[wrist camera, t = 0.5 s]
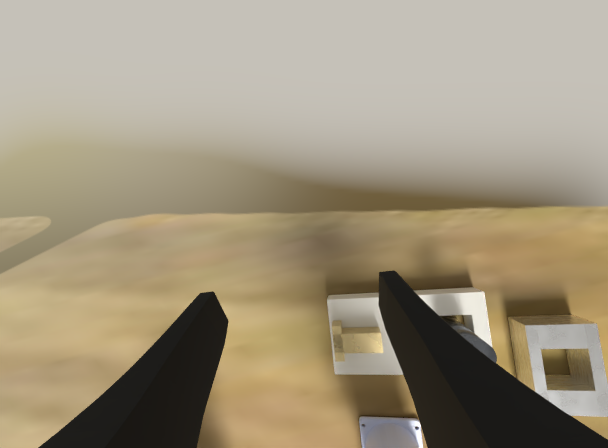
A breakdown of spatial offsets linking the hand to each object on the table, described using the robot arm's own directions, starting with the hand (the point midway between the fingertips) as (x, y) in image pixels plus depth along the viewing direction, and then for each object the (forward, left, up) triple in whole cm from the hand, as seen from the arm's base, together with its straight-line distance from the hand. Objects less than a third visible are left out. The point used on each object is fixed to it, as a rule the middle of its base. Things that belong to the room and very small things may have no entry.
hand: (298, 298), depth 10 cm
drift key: (-11, -2, -22) cm, 25 cm away
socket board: (-11, -8, -25) cm, 29 cm away
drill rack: (-15, -25, -25) cm, 38 cm away
